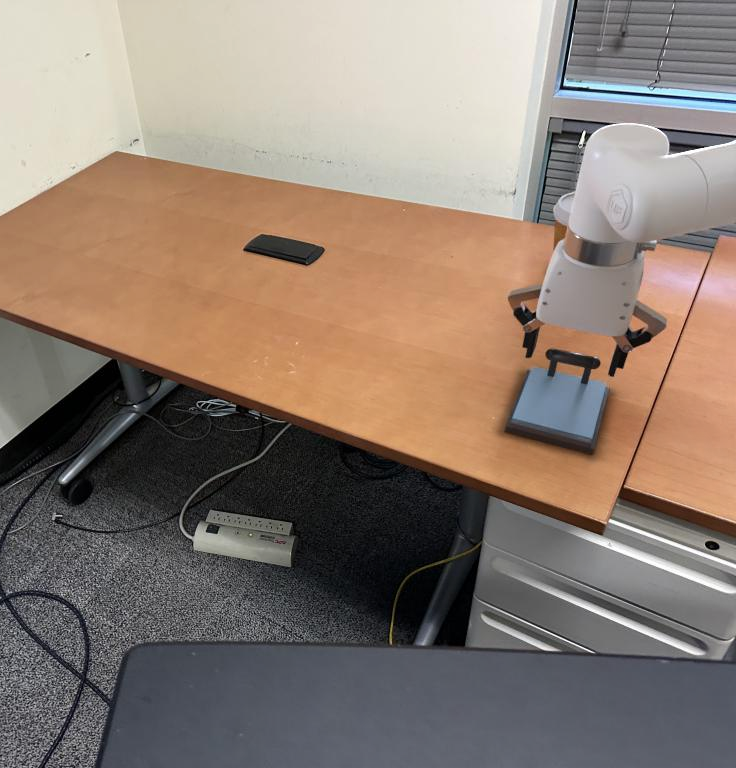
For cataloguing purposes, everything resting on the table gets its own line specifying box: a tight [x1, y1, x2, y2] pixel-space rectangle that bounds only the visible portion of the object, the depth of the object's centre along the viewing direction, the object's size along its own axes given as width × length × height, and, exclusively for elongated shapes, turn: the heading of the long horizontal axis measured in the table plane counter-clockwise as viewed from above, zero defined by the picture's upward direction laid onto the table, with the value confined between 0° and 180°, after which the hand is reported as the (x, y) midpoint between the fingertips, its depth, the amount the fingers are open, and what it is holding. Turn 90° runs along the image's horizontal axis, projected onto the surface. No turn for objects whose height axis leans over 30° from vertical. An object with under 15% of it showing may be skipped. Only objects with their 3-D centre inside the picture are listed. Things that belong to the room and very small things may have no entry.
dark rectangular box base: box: [504, 369, 611, 456], centre depth 86 cm, size 12×10×2 cm
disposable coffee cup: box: [552, 191, 575, 253], centre depth 106 cm, size 10×10×12 cm
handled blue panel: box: [512, 347, 608, 440], centre depth 85 cm, size 11×9×5 cm
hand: (570, 360), depth 87 cm, fingers open, 9 cm apart
